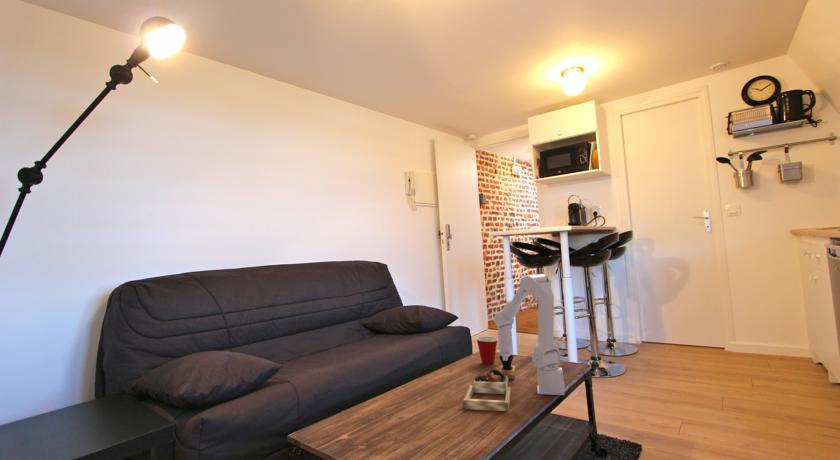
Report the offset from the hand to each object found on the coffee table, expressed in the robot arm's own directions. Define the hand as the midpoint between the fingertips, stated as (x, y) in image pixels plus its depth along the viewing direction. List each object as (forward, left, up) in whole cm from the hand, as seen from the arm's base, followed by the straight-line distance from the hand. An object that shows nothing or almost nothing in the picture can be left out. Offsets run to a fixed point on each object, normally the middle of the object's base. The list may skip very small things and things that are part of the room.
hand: (507, 372), depth 166 cm
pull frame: (+4, +9, -2) cm, 10 cm away
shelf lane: (+6, +27, -2) cm, 27 cm away
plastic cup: (+10, -19, -2) cm, 22 cm away
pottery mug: (+6, +15, -2) cm, 17 cm away
